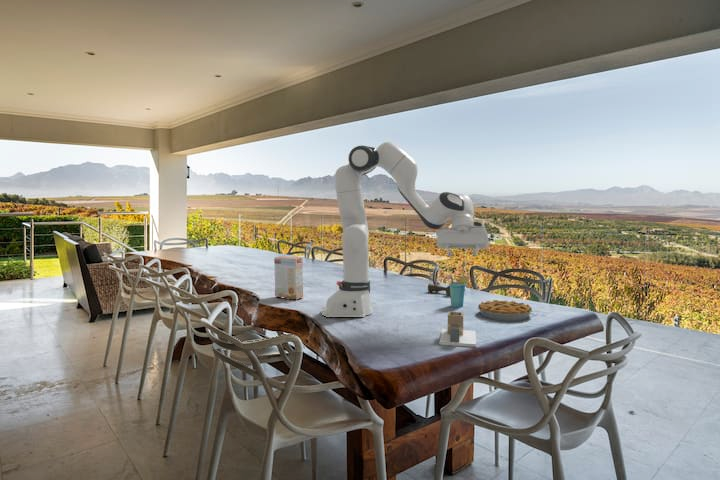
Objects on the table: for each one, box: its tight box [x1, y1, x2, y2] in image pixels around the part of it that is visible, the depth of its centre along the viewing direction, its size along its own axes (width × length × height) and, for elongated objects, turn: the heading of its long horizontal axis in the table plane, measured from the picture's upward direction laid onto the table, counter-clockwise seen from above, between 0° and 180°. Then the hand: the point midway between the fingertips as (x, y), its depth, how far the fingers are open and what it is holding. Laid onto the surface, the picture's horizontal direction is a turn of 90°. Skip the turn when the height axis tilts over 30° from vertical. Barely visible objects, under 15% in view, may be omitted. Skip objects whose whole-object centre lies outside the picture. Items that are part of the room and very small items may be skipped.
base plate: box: [439, 328, 477, 348], centre depth 160 cm, size 16×12×1 cm
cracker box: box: [273, 255, 304, 300], centre depth 229 cm, size 14×6×21 cm, turn 58°
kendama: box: [427, 282, 450, 297], centre depth 238 cm, size 6×10×20 cm
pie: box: [477, 299, 533, 322], centre depth 193 cm, size 22×22×5 cm
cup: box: [444, 274, 469, 308], centre depth 209 cm, size 14×8×15 cm, turn 127°
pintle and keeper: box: [450, 313, 460, 342], centre depth 159 cm, size 12×3×8 cm, turn 167°
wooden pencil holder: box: [447, 311, 464, 335], centre depth 162 cm, size 10×5×7 cm, turn 167°
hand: (462, 255), depth 177 cm, fingers open, 8 cm apart
